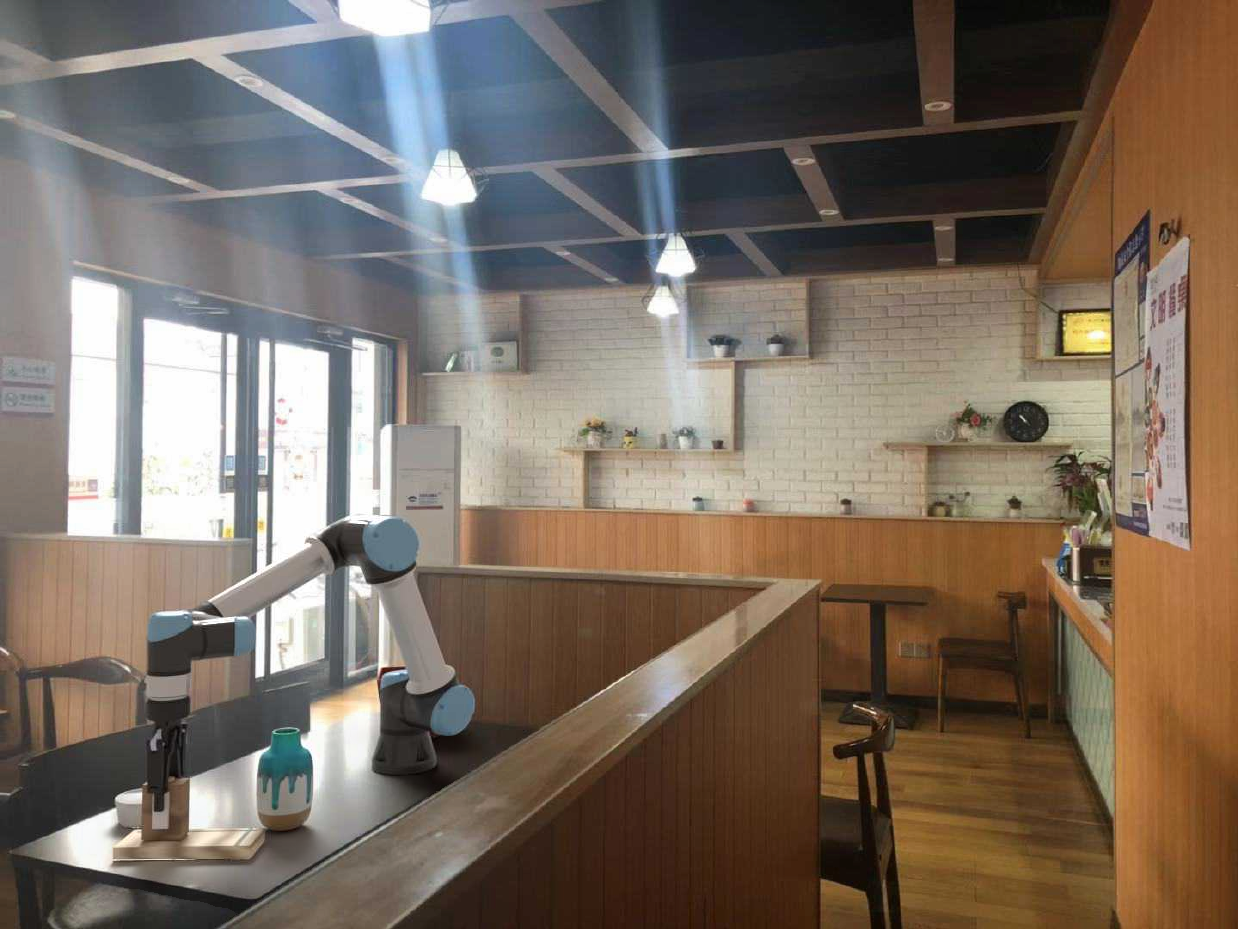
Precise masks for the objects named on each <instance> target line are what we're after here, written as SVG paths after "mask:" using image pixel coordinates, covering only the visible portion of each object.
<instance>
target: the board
mask: <svg viewBox="0 0 1238 929" xmlns="http://www.w3.org/2000/svg"><path fill="white" fill-rule="evenodd" d="M265 828H266V827H246V828H245V827H244V828H243V827H237V828H235V827H234V828H233V827H232V828H231V827H230V828H229V827H228V828H227V827H226V828H189V832H188V833H187V834H186V835H185V836H184V837H183V838H182V839H181V840H141V829H133V830H132V831H131V832H130V833H129V834H128V835H126V836H125V837H123V839H121V840H120V841H119V842H118V843H117V844H116V845H114V846H113V847H112V860H113V859H226V860H225V861H228V860H227V859H230V861H232V860H233V859H234V861H235V860H241V859H242V860H243V859H244V860H251V859H252V857H253V856H254V855H255V854H256V852H257V851H258V850H259V849H260V847H261V846H262V845H263V844H264V842H265V841H266V840H265V838H266V837H265V836H266V834H265V832H266V829H265Z"/></svg>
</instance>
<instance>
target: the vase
mask: <svg viewBox="0 0 1238 929" xmlns="http://www.w3.org/2000/svg"><path fill="white" fill-rule="evenodd" d="M301 737H302V736H301V730H300V729H299V728H297V727H281V728H277V729H274V730H272V731H271V739H270V746H269V749H267V750H265V751H264V752H263V753H262V754H261V755H260V757H259V761H258V764H257V770H256V772H257V773H256V794H255V796H256V812H257V817H258V820H259V821H260V824H262V826H263V828H266V829H267V830H271V831H275V832H276V831H278V832H280V831H281V832H282V831H284V832H285V831H290V830H293V829H296V828H299V827H300V826H302V825H303V824H305V823H306V821H307V820H308V819H309V817H310V815H311V811H312V806H313V796H314V763H313V762H314V761H313V757H312V753H311V751H310V750H309V749H308V748H306V747H305V746H303V745H302V739H301Z"/></svg>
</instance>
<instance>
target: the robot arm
mask: <svg viewBox="0 0 1238 929" xmlns="http://www.w3.org/2000/svg"><path fill="white" fill-rule="evenodd" d="M419 543H420V542H419V537H418V535H417V532H416V530H415V529H414V527H413V526H412V525H411V523H409V522H408V521H406V520H405V519H403V518H401V517H396V516H394V515H388V514H381V515H372V514H361V513H360V514H359V513H358V514H357V513H356V514H351V515H348V516H345V517H343V518H341V519H338V520H336V521H335V522H332V523H330V524H329V525H327V526H326V527H325V526H324V527H323V528H322V529H320V530H318V531H317V532H315V533H313V534H311V535H309V536H308V537H306V539H305V541H304V544H303V545H302V546H299V547H297V549H294V550H293V551H291V552H289V553H288V554H285V555H283V557H280V558H279V559H277V560H275V561H273V562H272V563H271V564H268V565H267V566H265V567H264V568H262V569H260V570H259V571H256V572H254V573H252V574H251V575H249V576H248V577H246V578H244V579H243V580H241V581H239V582H238V583H236V584H234V585H232V586H230V587H229V588H227V589H225V590H224V591H222V592H220V593H218V594H217V595H215V596H214V597H212V598H210V599H208V600H206V601H204V602H202V603H200V604H199V605H197V606H195V607H194V608H192V609H182V610H173V611H172V610H169V611H168V610H167V611H159V612H154V613H153V614H151V615H150V616H149V618H148V623H147V629H146V630H147V632H146V639H145V640H146V678H144V680H143V681H144V682H143V683H144V684H146V685H145V686H146V690H145V695H146V696H147V697H148V698H147V699H146V700H145V718H146V720H147V721H149V722H150V721H152V722H153V723H154V727H153V731H152V738H150V739H146V741H145V746H146V751H147V754H146V755H147V756H146V757H147V760H146V762H147V768H146V769H147V770H146V782H147V794H153V805H152V829H168V828H169V799H170V792H167V788H168V778H169V776H174V777H175V778H186V777H184V776H185V774H186V749H187V748H186V747H187V746H186V744H187V731H188V722H182V720H183V719H185V718H188V717H189V716H190V715H191V697H190V693H191V692H192V662H197V661H202V660H203V661H204V660H212V659H213V660H214V659H220V658H229V657H230V658H231V657H233V658H236V657H238V656H242V655H248V654H249V653H250V652H252V650H253V648H255V644H256V639H257V636H256V633H257V632H256V627H255V623H254V621H253V620H252V619H251V617H253V616H254V615H256V614H258V613H260V612H261V611H263V610H265V609H267V608H269V606H271V605H273V604H275V603H276V602H278V601H280V600H281V599H282V598H284V597H286V596H288V595H289V594H291V593H292V592H294V591H296V590H298V589H300V588H301V587H303V586H304V585H306V584H308V583H309V582H310V581H313V580H314V579H315V578H318V577H320V576H322V574H323V575H326V576H328V575H331V574H332V573H335V572H336V571H339V570H340V569H343V568H347V567H348V568H349V567H359V568H360V569H361V572H362V575H363V577H364V580H365V582H366V584H367V585H369V586H371V587H373V588H375V589H376V592H377V595H378V597H379V600H380V603H381V605H382V607H383V608H382V609H383V610H384V614H385V616H386V618H387V622H388V624H389V626H390V629H391V633H392V635H393V637H394V639H395V640H394V641H395V643H396V645H397V648H398V651H399V654H400V656H401V659H402V661H403V664H404V665H403V666H405V667H406V670H399V671H392V672H388V673H386V674H384V675H383V676H382V678H381V686H380V700H379V706H380V708H379V710H380V711H379V712H380V713H379V718H380V719H379V722H380V723H379V737H378V740H377V743H376V745H375V749H374V752H373V755H372V758H371V769H372V770H373V771H374V772H376V773H380V774H382V775H391V776H405V775H407V776H408V775H415V774H420V773H424V772H427V771H430V770H432V769H434V768H435V767H436V766H437V754H436V751H435V748H434V744H433V742H432V738H431V737H430V734H429V732H432V733H435V734H438V736H447V737H448V736H455V735H457V734H459V733H460V732H462V731H463V730H465V729H466V727H467V726H468V725H469V724H470V722H471V720H472V715H473V714H474V712H475V707H476V701H475V696H474V693H473V691H472V690H471V688H469V687H467V686H466V685H464V684H460V680H459V679H458V674H457V672H456V670H455V668H454V667H453V666H452V665H448V664H446V662H445V659H444V657H443V653H442V651H441V648H440V645H439V643H438V640H437V637H436V634H435V631H434V628H433V626H432V622H431V621H430V617H429V615H428V612H427V610H426V607H425V604H424V601H423V598H422V595H421V592H420V590H419V587H418V584H417V581H416V579H415V576H414V573H415V571H416V568H417V567H418V563H417V560H416V559H417V556H418V553H417V552H418V551H419V549H420V544H419Z"/></svg>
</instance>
